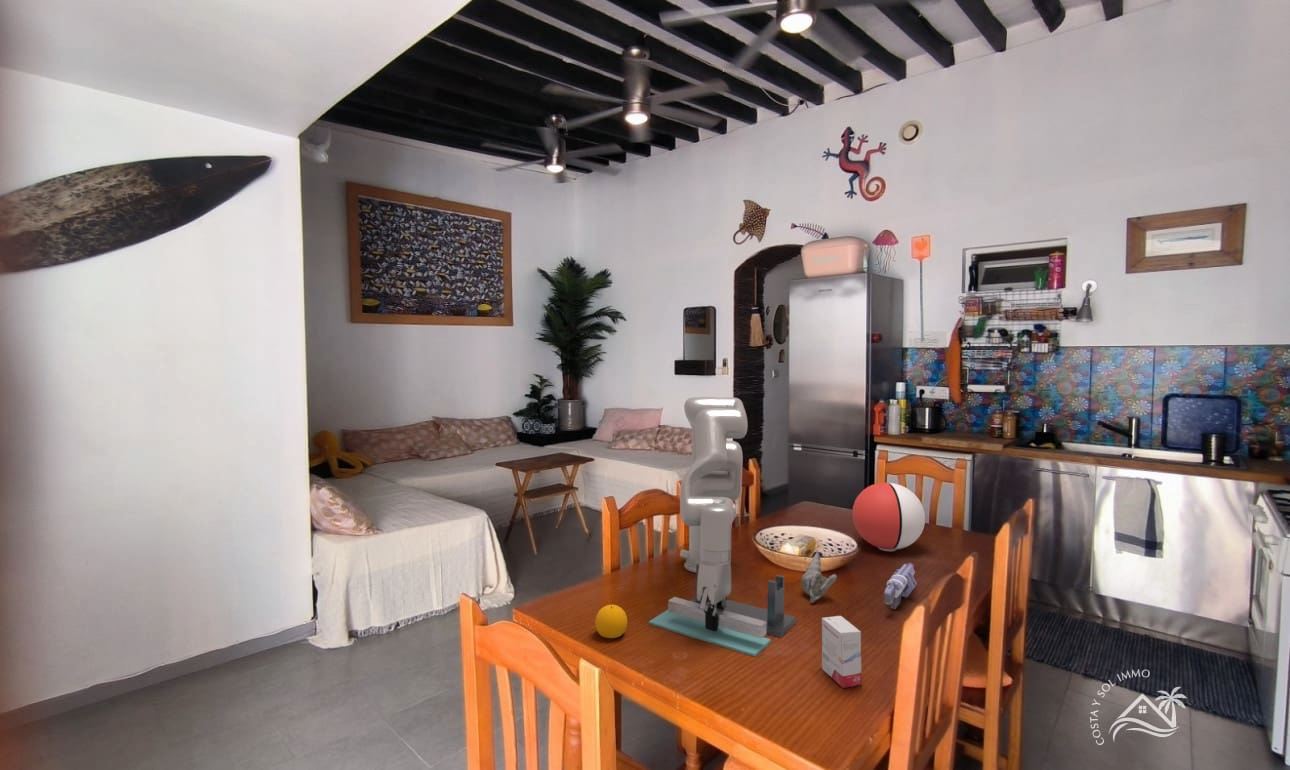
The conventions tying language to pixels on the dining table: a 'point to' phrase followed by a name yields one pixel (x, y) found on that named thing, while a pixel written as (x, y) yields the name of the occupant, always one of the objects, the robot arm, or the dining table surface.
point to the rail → (719, 617)
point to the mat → (711, 633)
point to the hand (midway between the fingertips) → (715, 626)
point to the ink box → (841, 651)
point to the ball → (888, 516)
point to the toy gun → (900, 585)
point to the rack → (773, 616)
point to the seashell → (816, 580)
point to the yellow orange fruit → (611, 621)
